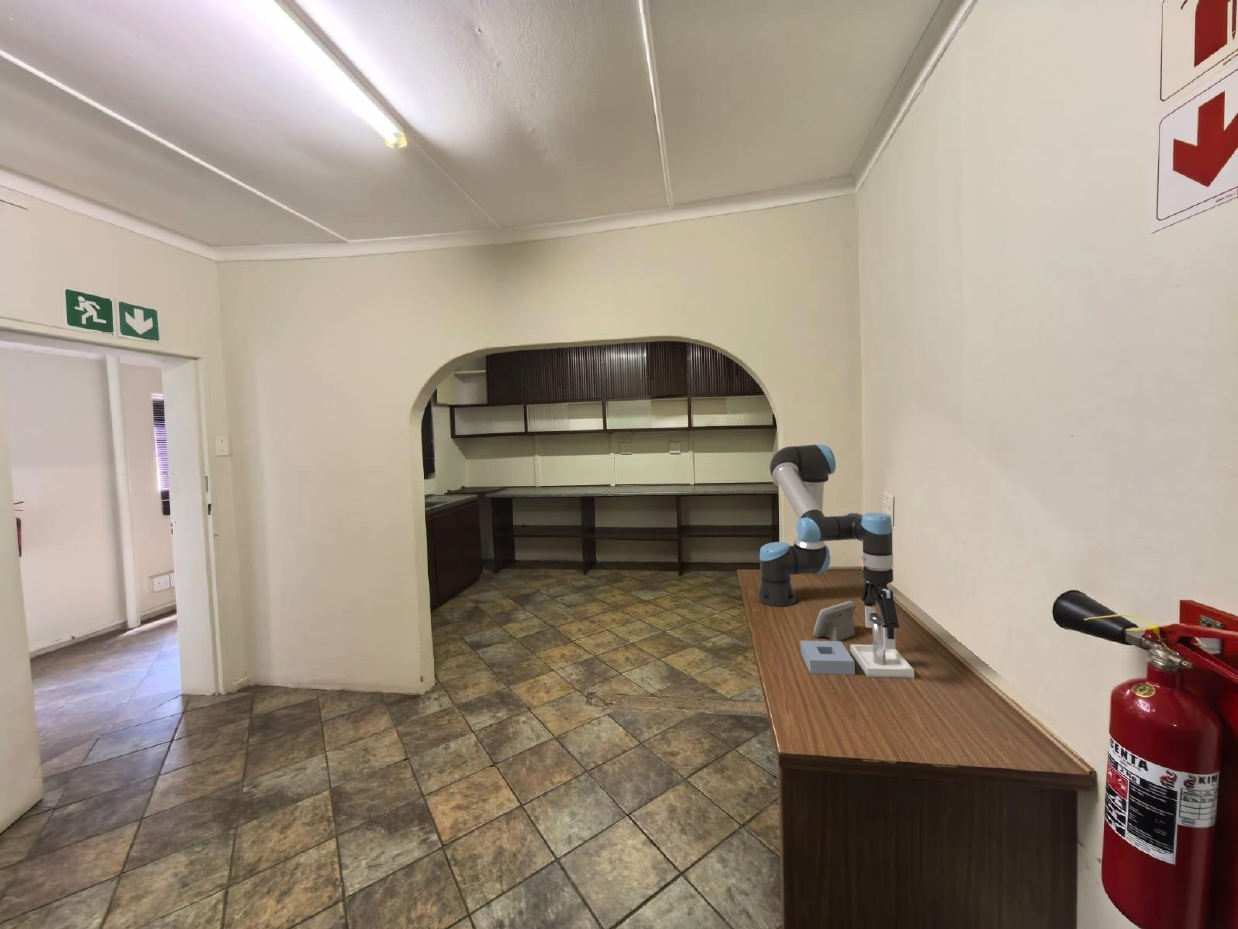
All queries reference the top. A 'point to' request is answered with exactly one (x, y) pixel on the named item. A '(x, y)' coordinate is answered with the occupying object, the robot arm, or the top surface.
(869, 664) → the tray
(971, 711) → the top surface
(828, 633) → the digital clock
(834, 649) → the socket block
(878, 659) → the pin
